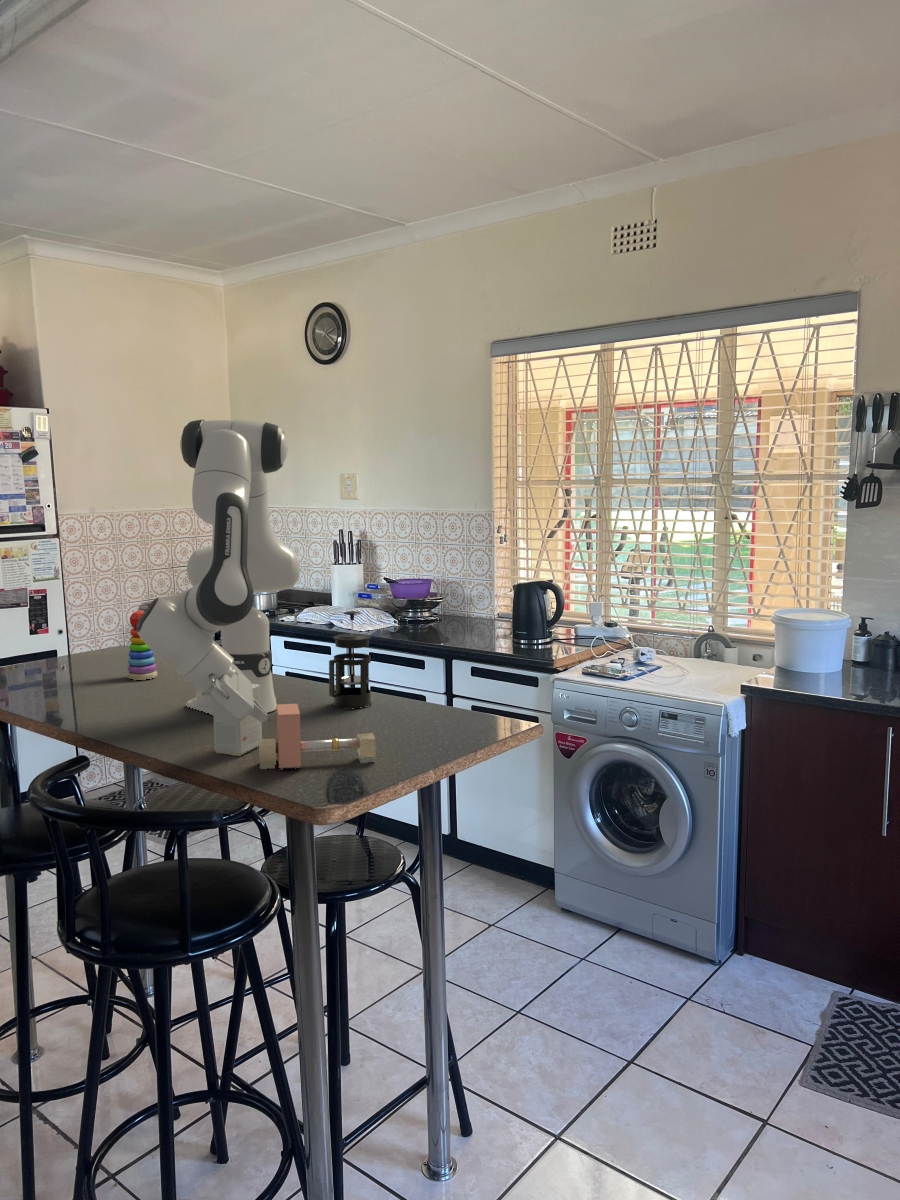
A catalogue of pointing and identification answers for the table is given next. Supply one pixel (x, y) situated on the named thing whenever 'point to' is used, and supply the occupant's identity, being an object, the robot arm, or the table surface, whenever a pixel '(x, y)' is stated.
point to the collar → (288, 735)
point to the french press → (352, 695)
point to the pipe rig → (320, 747)
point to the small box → (236, 728)
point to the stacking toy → (140, 654)
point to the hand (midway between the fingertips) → (265, 718)
